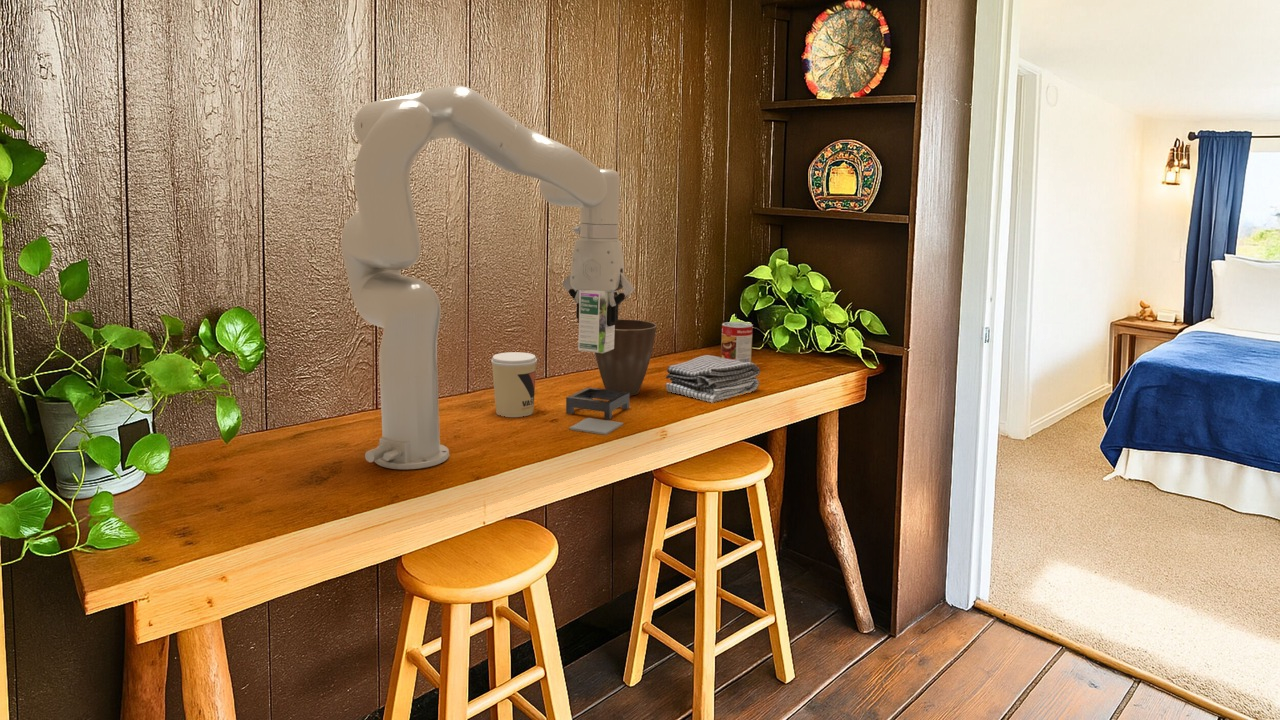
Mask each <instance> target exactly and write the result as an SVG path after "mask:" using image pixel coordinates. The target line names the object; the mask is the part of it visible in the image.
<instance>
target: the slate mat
mask: <svg viewBox="0 0 1280 720" xmlns="http://www.w3.org/2000/svg"><path fill="white" fill-rule="evenodd" d="M623 425H624V422H620V421H613V420H609V419H601V418H600V419H599V418H594V417H593V418H592V417H586V418H584V419H582V420H581V421H579V422H577V423H575V424H573V425H572V426H570V427H568V430H569V429H570V431H577V432H582V431H583V433H584V432H585V433H590V434H591V433H592V434H597V435H605V436H607V435H609V434H610V433H612V432H613V431H615V430H617V429H619V428H620V427H622V426H623Z"/></svg>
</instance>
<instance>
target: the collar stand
mask: <svg viewBox="0 0 1280 720" xmlns="http://www.w3.org/2000/svg"><path fill="white" fill-rule="evenodd" d="M630 397H631V396H630V392H622V391H614V390H606V389H605V388H599V387H598V388H596V387H589V386H588V387H586V388H583V389H582V390H579V391H577V392H575V393H573V394H571V395H568V396H566V397H565V399H566V400H565V413H567V415H572V414H574V413H575V409H582V410H588V411H595V412H601V413H603V420H608V421H611V419H612V418H613V411H615V410H616V409H618V408H620V407H621V409H622V410H629V409H630Z"/></svg>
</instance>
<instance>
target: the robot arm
mask: <svg viewBox="0 0 1280 720" xmlns="http://www.w3.org/2000/svg"><path fill="white" fill-rule="evenodd" d="M353 130H354V134H355V137H356V139H357V141H358V143H360V145H361V146H360V148H359V150H358V153H357V156H356V159H355V164H354V171H353V178H354V179H353V181H354V188H355V195H356V200H357V201H356V202H357V208H358V212H355V213H354V214H352V215H351V216H350V217H349V218H348V219H347V221H346V222H345V224H344V226H343V229H342V231H341V237H340V239H341V240H340V244H341V245H340V246H341V247H340V248H341V252H342V257H343V262H344V266H345V271H346V276H347V280H348V284H349V289H350V293H351V296H352V301H353V304H354V306H355V308H356V311H357V312H358V314H359V315H360V317H361V318H362V319H363V320H364V321H365V322H367V323H369V324H371V325H373V326H376V327H379V328H382V329H383V330H382V331H383V333H382V337H381V342H380V346H379V354H378V364H379V365H378V371H379V384H380V385H379V387H380V388H379V389H380V407H381V408H380V410H381V411H380V412H381V431H382V435H381V436H382V437H380V438H378V439H379V440H378V441H379V444H378V445H377V447H376V448H372V449H369V450H367V451H366V452H365V454H364V457H365V460H366V462H368V463H373V462H374V463H375V464H377V465H378V466H380V467H382V468H386V469H393V470H416V469H417V470H419V469H425V468H429V467H434V466H437V465H440V464H441V463H444V462H446V461H447V460H448V459H449V457H450V450H449V448H448V447H447V446H445V445H444V444H441V443H440V442H441V441H440V439H441V438H440V414H439V413H440V412H439V410H440V409H439V377H438V373H439V372H438V338H439V337H438V335H439V329H440V322H441V316H442V315H441V314H442V308H441V302H440V298H439V296H438V294H437V292H436V290H435V289H434V288H433V287H432V286H431V285H430V284H428V283H427V282H426V281H423V280H422V279H419V278H417V277H411V276H408V275H402V272H401V271H402V270H407V269H409V268H410V267H412V266H413V265H415V264H416V262H417V261H418V260H419V258H420V255H421V252H422V251H421V250H422V243H421V236H420V232H419V227H418V224H417V223H418V222H417V217H416V212H415V207H414V203H413V197H412V191H411V189H412V188H411V181H410V180H411V170H412V168H413V164H414V162H415V160H416V158H417V156H418V155H419V153H421V151H422V150H423V149H424V148H425V146H427V145H428V143H429V142H432V141H435V140H438V139H448V138H449V139H455V140H457V141H459V142H460V143H462V144H463V145H464V146H466V147H468V149H471V150H472V151H474V152H475V153H477V154H478V155H480V156H481V157H483V158H484V159H486V160H487V161H489V162H490V163H492V164H493V165H495V166H496V167H497V168H500V169H502V170H503V171H506V172H507V171H508V172H510V173H513V174H515V175H520V176H526V177H531V178H534V179H537V180H539V191H540V194H541V196H542V197H543V199H544V200H545V201H546V202H547V203H549V204H550V205H553V206H556V207H566V208H567V207H568V208H580V210H579V211H580V213H579V214H580V216H579V223H578V225H575V226H574V227H573V232H574V233H575V234H578V236H579V239H575V242H574V245H573V250H572V258H571V263H570V264H571V266H570V274H569V275H568V276H567V277H566V278H565V280H564V281H563V282H562V287H563V288H564V290H566V291H567V293H568V294H569V295H570V297H571V298H572V299H573V302H574V303H575V304H576V312H575V313H576V319H577V324H579V290H596V291H605V292H608V299H609V303H610V306H608V307H607V325H608V326H613V325H616V322H617V321H618V319H619V305H621V303H622V302H623V301H624V300H625V299H627V298H628V296H629V295H631V294H632V293H633V292H634V290H635V287H634V285H632V283H631V282H630V281H629V280H628V278H627V276H626V275H625V261H624V251H623V246H622V241H621V240H619V216H620V215H619V213H620V212H619V211H620V209H619V207H620V175H619V172H618V171H616V170H614V169H609V168H599V167H598V166H597V165H595V163H592V162H591V161H590V160H588V159H587V158H586V157H584V156H583V155H582V154H580V153H579V152H578V151H576V150H575V149H573V148H571V147H570V146H567V145H565V144H564V143H561V142H559V141H557V140H554V139H552V138H550V137H548V136H545V135H544V134H542V133H539V132H538V131H536V130H533V129H530V128H528V127H526V126H525V125H523V124H522V123H520V122H519V121H518V120H516V119H515V118H513V117H512V116H510V115H509V114H508V113H506V112H505V111H504V110H503V109H501V108H500V107H498V106H497V105H495V104H494V103H493V102H492V101H490V100H488V99H487V98H486V97H484V96H483V95H482V94H480V93H479V92H477V91H476V90H474V89H472V88H470V87H467V86H465V85H464V86H463V85H451V86H441V87H435V88H430V89H426V90H421V91H418V92H415V93H414V92H413V93H410V94H406V95H401V96H395V97H392V98H386V99H381V100H376V101H372V102H369V103H366V104H365V105H364V106H362V107H361V108H359V110H358V112H357V113H356V115H355V117H354V121H353ZM620 290H622V291H621V292H619V291H620Z"/></svg>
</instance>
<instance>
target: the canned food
mask: <svg viewBox="0 0 1280 720" xmlns="http://www.w3.org/2000/svg"><path fill="white" fill-rule="evenodd" d="M753 326H754V324H752V323H750V322H742V321H729V322H728V321H726V322H722V324H721V343H720V344H721V346H720V357H721V358H725V359H733V360H738V361H740V362H751V363H752V350H753V349H752V348H753V329H754V327H753Z"/></svg>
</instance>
